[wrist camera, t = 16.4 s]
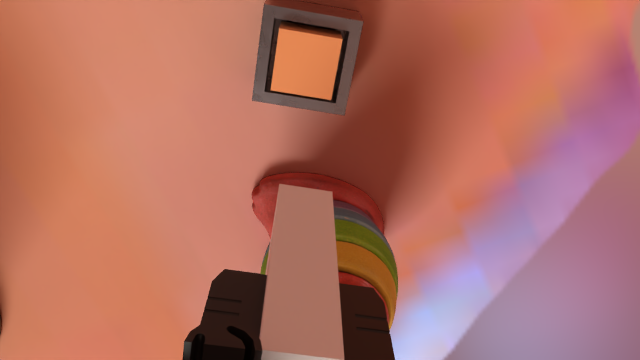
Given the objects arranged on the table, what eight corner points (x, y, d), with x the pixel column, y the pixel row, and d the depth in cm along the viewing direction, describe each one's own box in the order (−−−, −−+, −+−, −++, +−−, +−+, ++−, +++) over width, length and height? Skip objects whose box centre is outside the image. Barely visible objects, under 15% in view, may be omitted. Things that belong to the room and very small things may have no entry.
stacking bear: (247, 175, 42) (208, 335, 26) (381, 161, 42) (425, 314, 26) (268, 291, 47) (246, 488, 31) (389, 280, 46) (430, 473, 30)
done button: (273, 79, 37) (270, 90, 34) (281, 20, 35) (279, 28, 33) (329, 88, 37) (331, 100, 35) (340, 31, 35) (342, 39, 33)
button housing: (257, 83, 39) (251, 100, 35) (268, -5, 36) (264, 4, 33) (341, 97, 40) (344, 115, 36) (358, 11, 37) (363, 21, 33)
